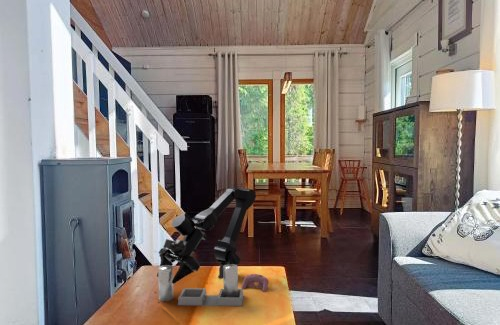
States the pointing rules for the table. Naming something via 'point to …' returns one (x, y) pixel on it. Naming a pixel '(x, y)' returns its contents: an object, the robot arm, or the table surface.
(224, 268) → the billet
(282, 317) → the table surface
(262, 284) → the video game controller
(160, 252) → the robot arm
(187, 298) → the grey socket holder
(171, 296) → the cylinder
